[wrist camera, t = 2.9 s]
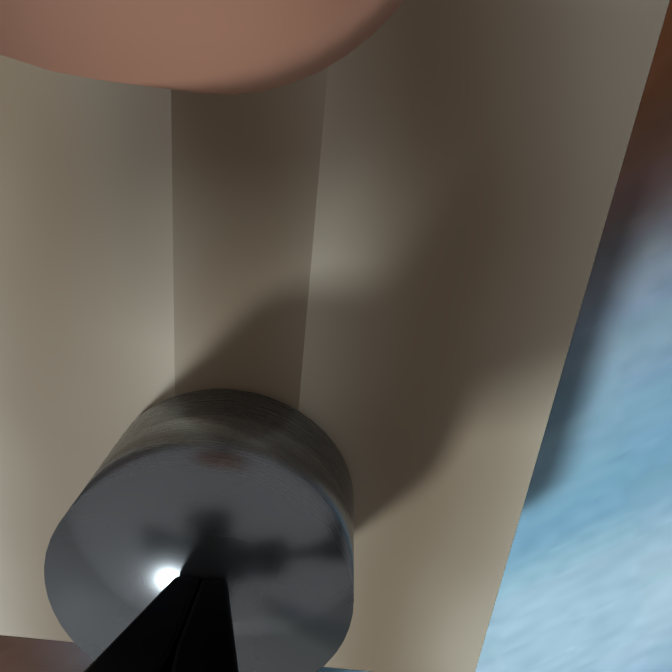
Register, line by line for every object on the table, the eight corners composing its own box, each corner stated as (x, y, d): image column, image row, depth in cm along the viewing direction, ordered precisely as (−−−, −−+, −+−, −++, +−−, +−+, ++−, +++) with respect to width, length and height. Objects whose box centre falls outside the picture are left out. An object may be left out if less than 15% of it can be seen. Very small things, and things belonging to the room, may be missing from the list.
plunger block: (653, -329, 9) (848, -617, 6) (446, 557, 17) (472, 681, 13) (-45, -413, 9) (-310, -763, 6) (62, 518, 17) (-20, 632, 13)
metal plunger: (364, 328, 14) (371, 488, 8) (343, 489, 16) (337, 714, 10) (166, 308, 14) (27, 453, 8) (169, 472, 16) (59, 687, 10)
